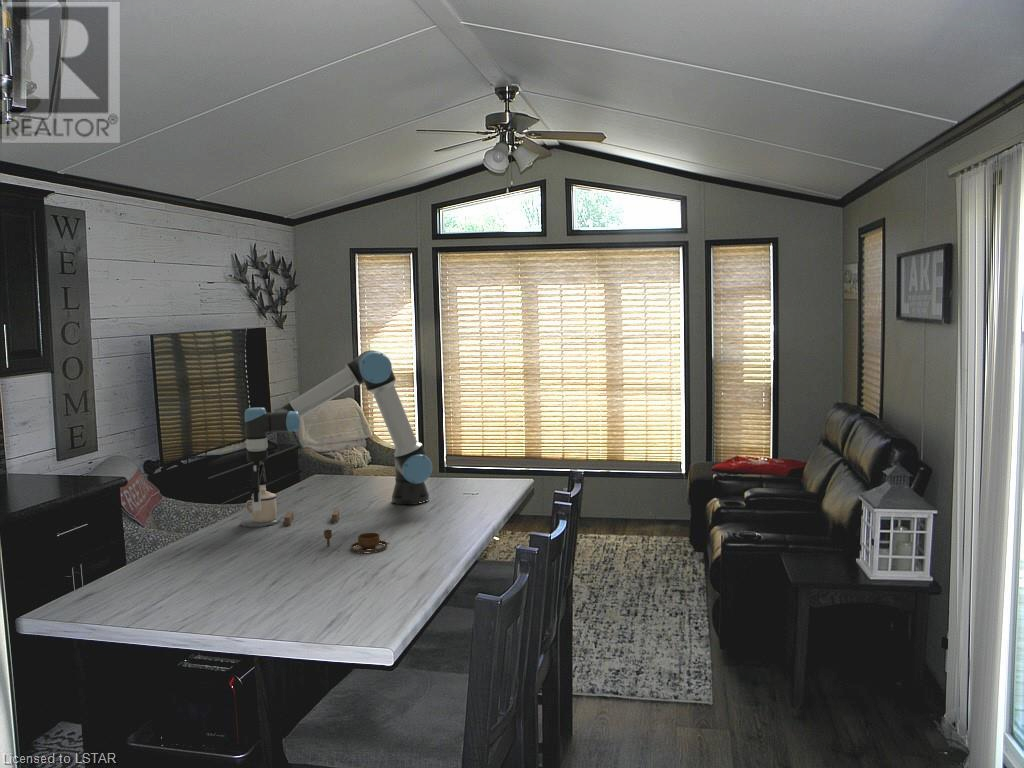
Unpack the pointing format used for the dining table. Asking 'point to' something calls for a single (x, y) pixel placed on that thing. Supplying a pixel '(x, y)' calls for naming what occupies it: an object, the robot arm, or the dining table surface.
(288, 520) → the walnut cradle
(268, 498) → the teacup with lid
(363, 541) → the place setting
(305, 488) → the dining table surface
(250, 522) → the grey flat disc
